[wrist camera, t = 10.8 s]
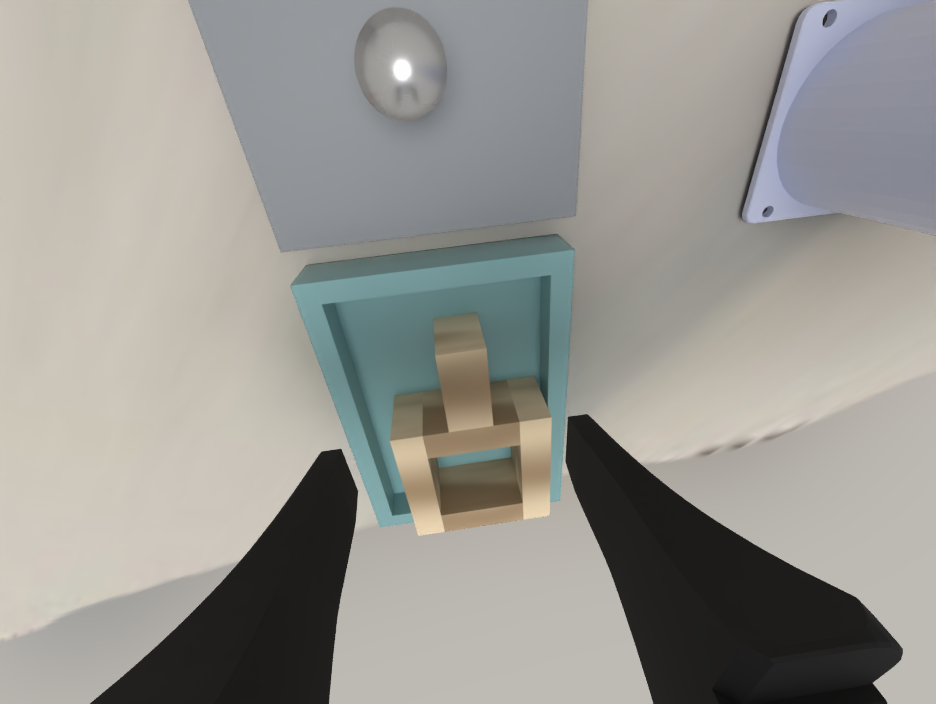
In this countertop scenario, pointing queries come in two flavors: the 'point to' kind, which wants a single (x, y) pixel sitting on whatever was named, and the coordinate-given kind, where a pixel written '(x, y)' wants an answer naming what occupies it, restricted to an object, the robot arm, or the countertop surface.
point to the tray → (413, 347)
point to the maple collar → (472, 439)
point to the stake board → (385, 158)
